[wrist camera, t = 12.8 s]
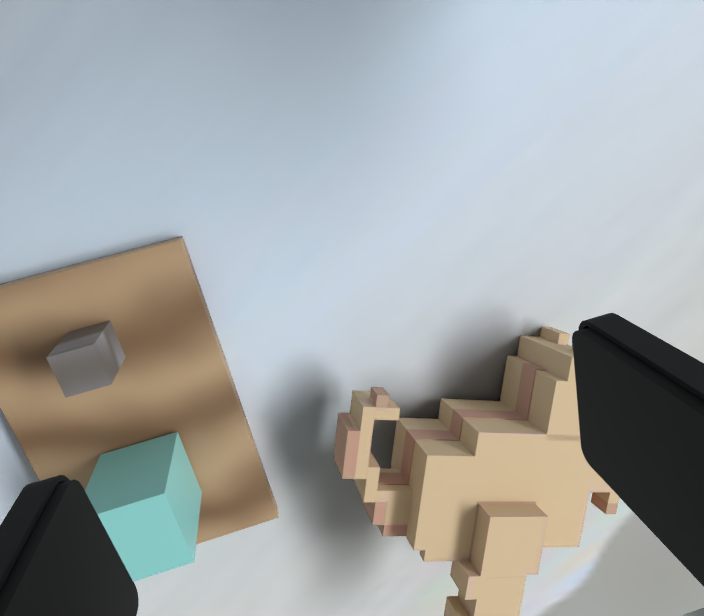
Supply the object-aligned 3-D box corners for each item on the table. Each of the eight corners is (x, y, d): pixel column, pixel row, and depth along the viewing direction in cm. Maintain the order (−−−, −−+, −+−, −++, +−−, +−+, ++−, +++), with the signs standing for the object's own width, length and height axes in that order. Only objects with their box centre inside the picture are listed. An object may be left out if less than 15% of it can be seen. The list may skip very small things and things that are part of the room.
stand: (-47, 296, 32) (-97, 326, 28) (182, 236, 34) (172, 254, 29) (96, 565, 40) (76, 625, 35) (277, 507, 42) (281, 556, 37)
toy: (609, 635, 37) (668, 356, 34) (334, 653, 33) (374, 335, 30) (534, 550, 47) (574, 325, 44) (312, 555, 42) (340, 306, 39)
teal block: (100, 454, 36) (71, 522, 30) (177, 431, 36) (164, 493, 30) (129, 514, 38) (106, 590, 32) (201, 492, 38) (194, 561, 32)
